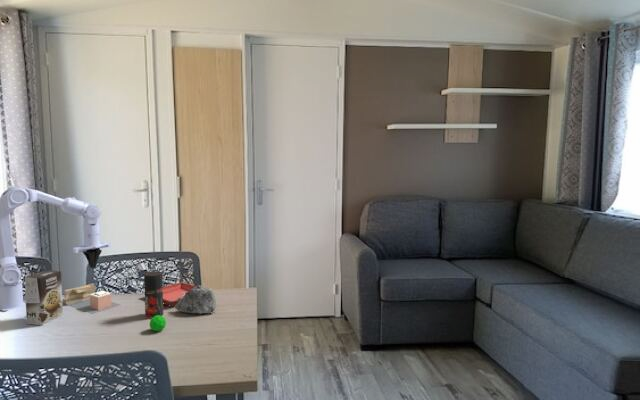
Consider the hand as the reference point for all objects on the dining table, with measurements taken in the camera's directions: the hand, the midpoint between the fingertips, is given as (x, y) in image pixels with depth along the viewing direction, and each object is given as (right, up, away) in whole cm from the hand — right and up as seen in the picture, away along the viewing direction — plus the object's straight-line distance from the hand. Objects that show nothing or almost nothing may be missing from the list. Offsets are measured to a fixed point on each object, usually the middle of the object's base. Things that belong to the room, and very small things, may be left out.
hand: (92, 267), depth 177 cm
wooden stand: (+1, -11, -10) cm, 15 cm away
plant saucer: (+35, -12, -4) cm, 38 cm away
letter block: (+12, -7, -17) cm, 22 cm away
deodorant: (+33, -14, -22) cm, 42 cm away
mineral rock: (+47, -14, -18) cm, 53 cm away
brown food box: (-1, -14, -28) cm, 32 cm away
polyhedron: (+40, -15, -35) cm, 55 cm away
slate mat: (+4, -12, -12) cm, 17 cm away
